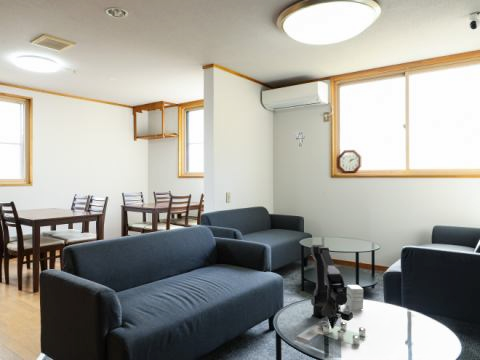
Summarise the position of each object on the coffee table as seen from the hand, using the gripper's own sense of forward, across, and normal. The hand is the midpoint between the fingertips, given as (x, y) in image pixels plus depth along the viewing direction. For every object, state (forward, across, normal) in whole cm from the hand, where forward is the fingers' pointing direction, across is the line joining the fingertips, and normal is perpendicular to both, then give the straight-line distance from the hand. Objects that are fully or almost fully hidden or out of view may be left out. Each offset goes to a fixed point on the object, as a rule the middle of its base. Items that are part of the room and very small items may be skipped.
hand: (332, 328), depth 170 cm
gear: (+2, -4, 0) cm, 5 cm away
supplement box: (+2, -4, +39) cm, 39 cm away
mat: (+2, +4, 0) cm, 5 cm away
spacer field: (+1, +6, 0) cm, 7 cm away
